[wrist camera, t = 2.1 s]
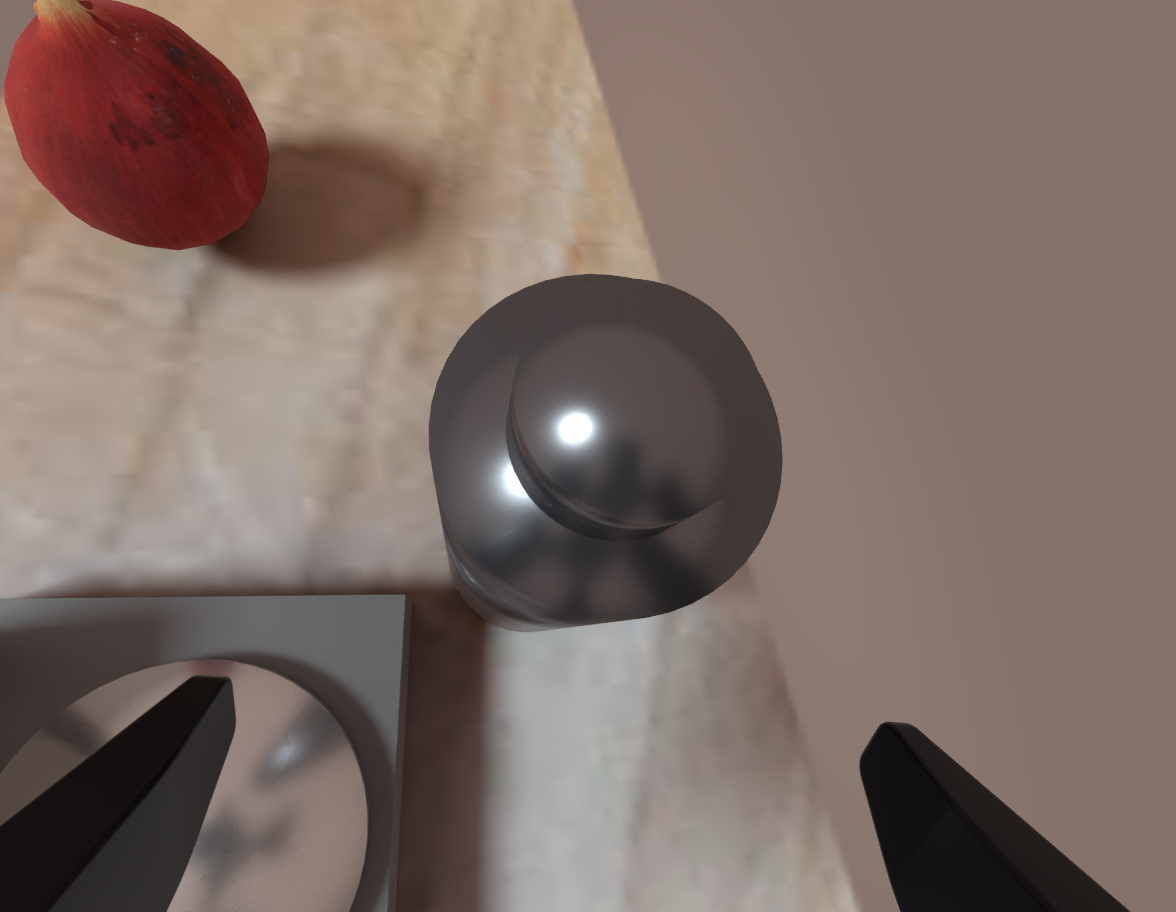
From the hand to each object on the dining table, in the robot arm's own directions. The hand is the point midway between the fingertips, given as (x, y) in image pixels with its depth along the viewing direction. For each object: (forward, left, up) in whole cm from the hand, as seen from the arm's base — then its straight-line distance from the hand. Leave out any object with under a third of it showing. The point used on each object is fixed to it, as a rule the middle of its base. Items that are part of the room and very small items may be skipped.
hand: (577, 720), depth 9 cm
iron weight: (+4, 0, -11) cm, 12 cm away
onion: (+15, +11, -11) cm, 21 cm away
